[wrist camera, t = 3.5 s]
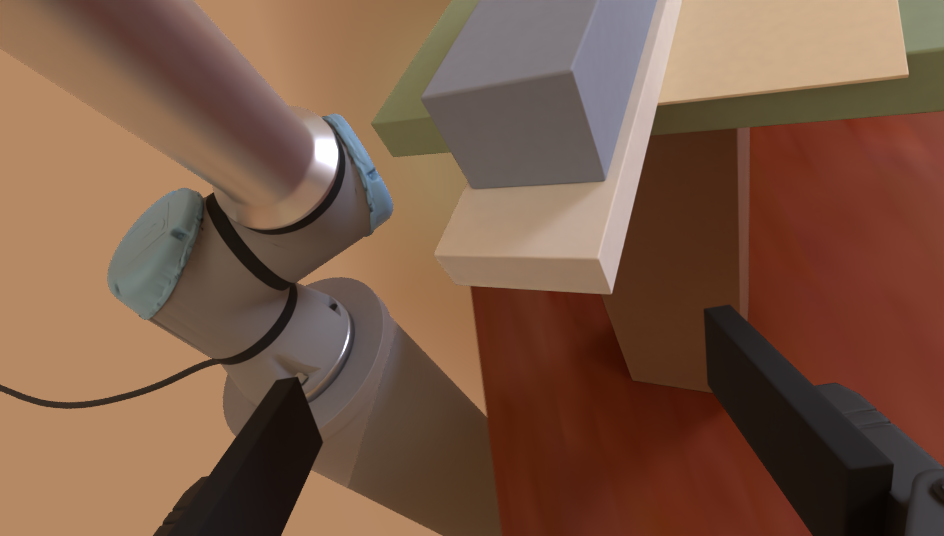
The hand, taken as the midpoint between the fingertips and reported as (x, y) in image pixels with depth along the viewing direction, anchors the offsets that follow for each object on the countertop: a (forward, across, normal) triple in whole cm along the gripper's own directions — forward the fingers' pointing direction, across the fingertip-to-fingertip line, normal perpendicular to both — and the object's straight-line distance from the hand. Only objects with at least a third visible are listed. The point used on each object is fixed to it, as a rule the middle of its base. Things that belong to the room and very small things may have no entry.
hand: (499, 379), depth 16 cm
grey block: (+6, +6, +9) cm, 13 cm away
